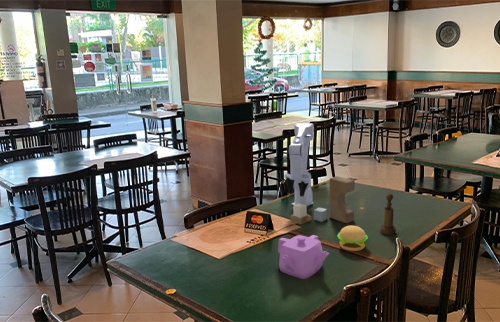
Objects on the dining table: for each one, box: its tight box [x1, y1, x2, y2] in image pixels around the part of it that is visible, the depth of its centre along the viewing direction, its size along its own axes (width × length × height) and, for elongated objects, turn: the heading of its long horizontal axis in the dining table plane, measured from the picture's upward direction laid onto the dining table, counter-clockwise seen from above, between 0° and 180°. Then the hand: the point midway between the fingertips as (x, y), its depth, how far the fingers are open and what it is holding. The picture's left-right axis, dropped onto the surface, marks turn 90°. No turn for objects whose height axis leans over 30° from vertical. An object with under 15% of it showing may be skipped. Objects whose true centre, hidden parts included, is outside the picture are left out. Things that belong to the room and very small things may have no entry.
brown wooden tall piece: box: [379, 192, 397, 236], centre depth 183 cm, size 7×6×18 cm
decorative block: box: [328, 176, 356, 224], centre depth 199 cm, size 11×6×20 cm, turn 37°
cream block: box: [292, 203, 308, 218], centre depth 200 cm, size 4×4×5 cm
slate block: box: [313, 207, 328, 222], centre depth 202 cm, size 4×4×5 cm
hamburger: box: [337, 225, 368, 252], centre depth 171 cm, size 12×12×9 cm
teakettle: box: [277, 234, 330, 280], centre depth 154 cm, size 17×17×12 cm
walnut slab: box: [290, 213, 312, 225], centre depth 201 cm, size 7×7×3 cm
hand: (296, 194), depth 207 cm, fingers open, 7 cm apart
